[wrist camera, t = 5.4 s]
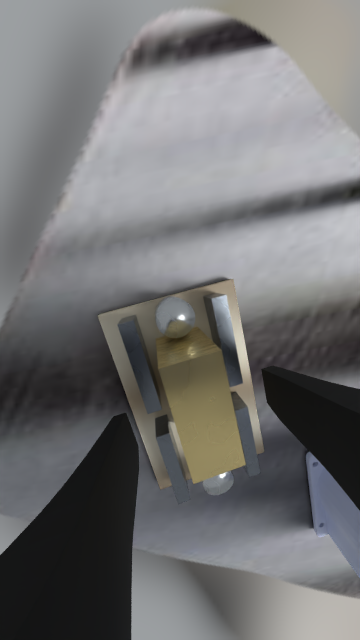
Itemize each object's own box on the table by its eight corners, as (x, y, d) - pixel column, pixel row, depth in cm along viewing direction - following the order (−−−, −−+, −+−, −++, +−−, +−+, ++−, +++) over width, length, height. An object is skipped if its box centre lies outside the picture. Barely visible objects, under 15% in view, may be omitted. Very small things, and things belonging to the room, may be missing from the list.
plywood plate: (259, 445, 15) (264, 452, 14) (160, 481, 14) (160, 489, 14) (229, 279, 12) (233, 279, 11) (100, 313, 11) (97, 315, 11)
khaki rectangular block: (217, 409, 13) (245, 464, 9) (180, 422, 13) (193, 484, 9) (197, 326, 12) (221, 349, 8) (155, 338, 11) (158, 369, 7)
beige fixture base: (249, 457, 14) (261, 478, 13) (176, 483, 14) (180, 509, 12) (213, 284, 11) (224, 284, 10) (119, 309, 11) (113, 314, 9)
